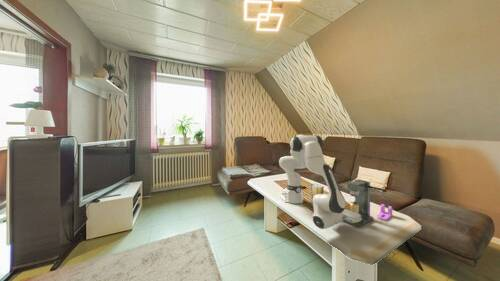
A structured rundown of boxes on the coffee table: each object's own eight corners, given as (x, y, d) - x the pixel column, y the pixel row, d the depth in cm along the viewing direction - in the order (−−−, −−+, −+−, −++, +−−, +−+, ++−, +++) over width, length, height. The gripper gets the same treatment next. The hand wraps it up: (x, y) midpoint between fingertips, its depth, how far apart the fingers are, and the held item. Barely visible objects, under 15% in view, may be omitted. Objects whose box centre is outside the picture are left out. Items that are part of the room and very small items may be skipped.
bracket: (382, 212, 122) (382, 203, 122) (392, 215, 118) (392, 205, 118) (375, 218, 115) (375, 208, 114) (385, 221, 110) (386, 211, 110)
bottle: (348, 216, 113) (348, 201, 113) (353, 214, 115) (353, 199, 115) (355, 219, 109) (355, 203, 108) (360, 218, 110) (360, 202, 110)
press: (373, 234, 97) (373, 191, 96) (339, 219, 114) (339, 182, 113) (387, 225, 106) (387, 185, 105) (354, 213, 123) (354, 178, 122)
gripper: (353, 216, 92) (366, 210, 99) (320, 203, 109) (333, 199, 116) (353, 228, 92) (366, 221, 99) (320, 213, 109) (333, 208, 116)
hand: (348, 209), depth 108 cm, fingers open, 8 cm apart
